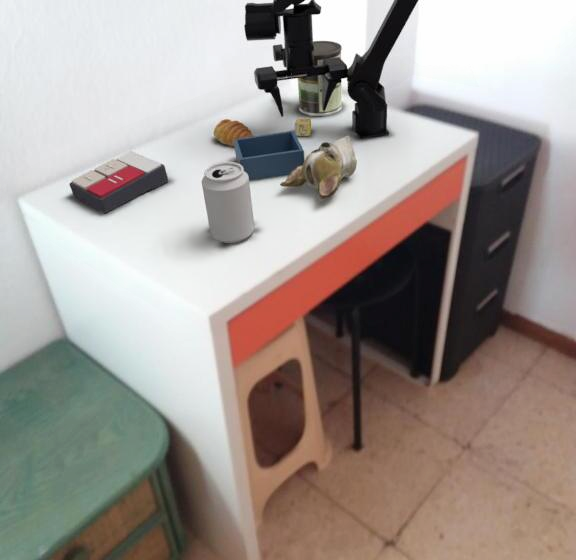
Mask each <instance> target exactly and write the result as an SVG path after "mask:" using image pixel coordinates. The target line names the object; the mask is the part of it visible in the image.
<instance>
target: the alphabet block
mask: <svg viewBox="0 0 576 560" xmlns="http://www.w3.org/2000/svg"><path fill="white" fill-rule="evenodd" d="M294 133H295V134H296V136H297V137H298V136H299V137H310V136H311V133H312V118H299V117H298V118H296V120H295V122H294Z"/></svg>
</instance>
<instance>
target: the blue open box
mask: <svg viewBox="0 0 576 560" xmlns="http://www.w3.org/2000/svg"><path fill="white" fill-rule="evenodd" d="M233 147H234V154H235V161H236V163H238V164H240V165H242V166H243V169H244V170H243V171H245V172H246V173H247V174H248V176H249V181H254V180H261V179H268V178H274V177H275V178H276V177H281V176H290V174H291V172H292V171H293V170H295V169H296V168H297V167H298V166H302V165H303V164H304V161H305V149H304V148H303V146H302V144H301V143H300V140H299V138H298V136H296V134H295V130H287V131H281V132H274V133H267V134H259V135H253V136H252V137H245V138H238V139H234V146H233Z"/></svg>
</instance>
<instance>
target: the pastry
mask: <svg viewBox="0 0 576 560" xmlns="http://www.w3.org/2000/svg"><path fill="white" fill-rule="evenodd" d="M213 136H214V138H215V139H216V140H217V141H218V142H220V143H221V144H223V145H226V146H227V145H228V146H230V147H234V139H238V138H245V137H252V136H254V134H253V133H252V131H251V129H250V128H249V127H248V126H246V125H245V124H244V123H243V122H240V121H238V120H231V119H228V118H227V119H226V118H225V119H221V120H220V121H219V122H218V123H217V124H216V125H215V127H214V129H213Z"/></svg>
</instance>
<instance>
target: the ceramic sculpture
mask: <svg viewBox="0 0 576 560" xmlns="http://www.w3.org/2000/svg"><path fill="white" fill-rule="evenodd" d="M357 162H358V161H357V158H356V154H355V150H354V147H353V143H352V141H351V138H350V136H349V135H345V136H343V137H342V138H339V139H337V140H334V141H333V142H328V141H325V142H322V143H320V144H319V146H318V148H316V149H314V150H312V151H311V152H310V153H309V154H308V155H306V156H305V157H304V164H303V165H302V166H298V167H297V168H296V169H295V170H293V171H292V172H291V174H289V175H288V176H287V178H286V179H285V181H282V182H281V183H279V186H281V187H284V188H300V187H301V186H303V185H305V184H306V183H307V185H308V186H310V187H311V188H313V189H315V190H316V191H317V194H318V198H319V200H325V199H329V198H330V197H332V196H335V194H336V192H337V191H338V189H339V187H340V184H342V179H343V178H344V177H346V178H347V177H351V176H353V175H354V173H355V172H356V169H357Z"/></svg>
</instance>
